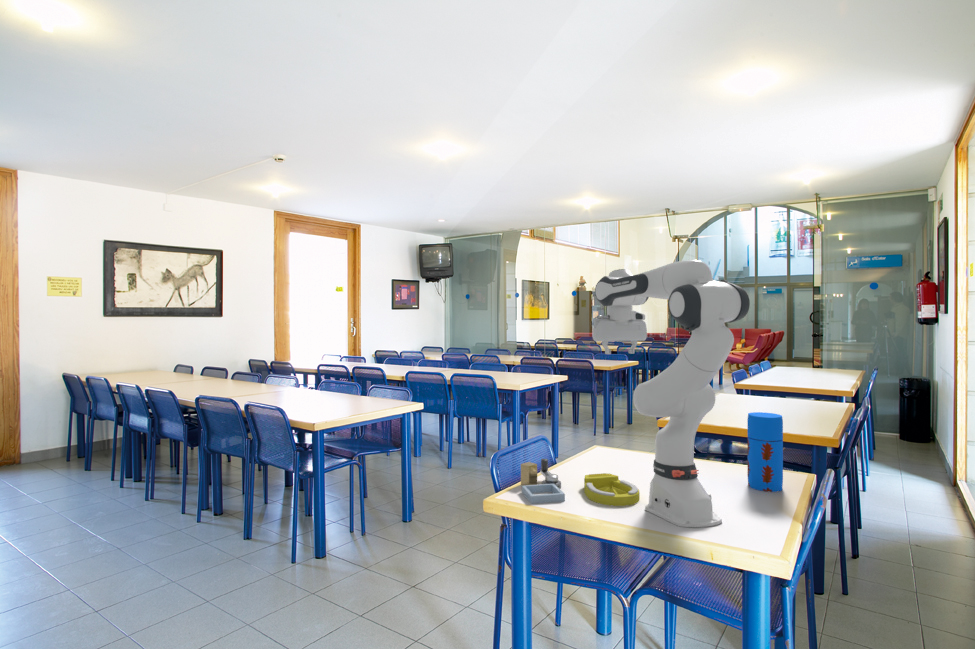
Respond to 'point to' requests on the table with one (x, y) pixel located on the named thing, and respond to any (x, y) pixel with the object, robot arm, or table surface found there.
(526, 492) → the tray
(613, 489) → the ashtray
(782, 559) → the table surface
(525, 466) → the block
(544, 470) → the crank
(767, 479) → the thermos
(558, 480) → the plinth
